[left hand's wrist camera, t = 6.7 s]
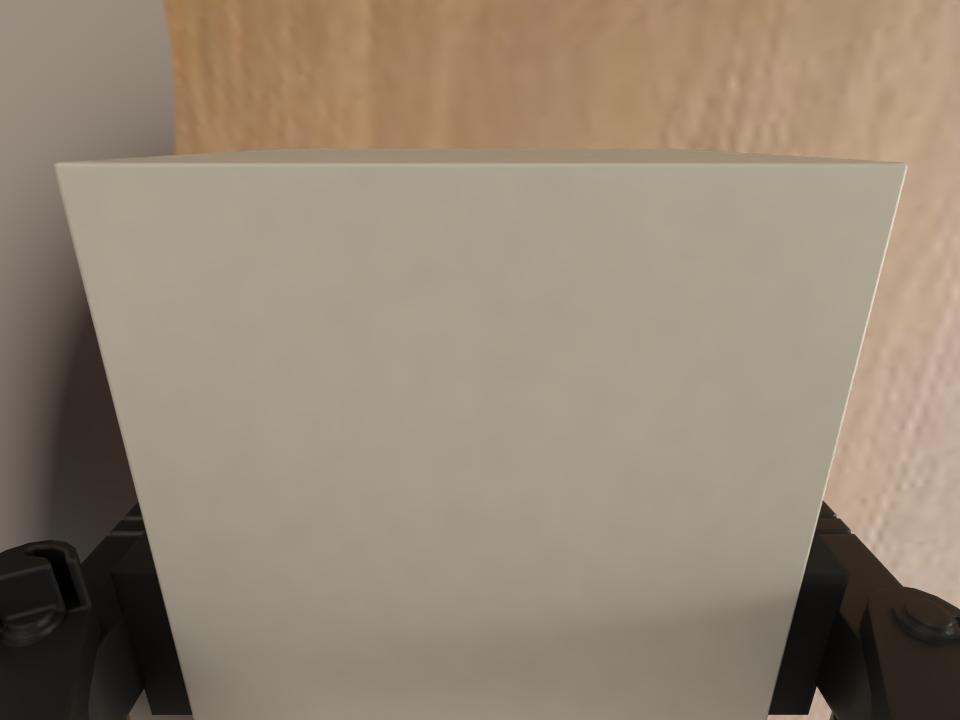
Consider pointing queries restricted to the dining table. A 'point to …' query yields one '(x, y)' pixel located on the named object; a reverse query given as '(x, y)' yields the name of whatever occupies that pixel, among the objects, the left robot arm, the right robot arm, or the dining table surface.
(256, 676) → the wide beam
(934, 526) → the dining table surface
